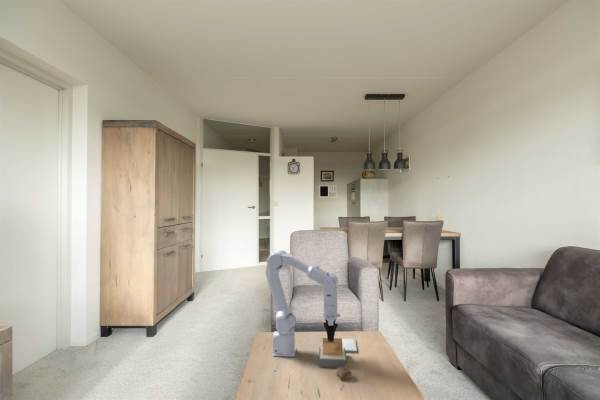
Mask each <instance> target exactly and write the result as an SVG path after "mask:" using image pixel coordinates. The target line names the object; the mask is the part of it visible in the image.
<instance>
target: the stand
mask: <svg viewBox="0 0 600 400" xmlns="http://www.w3.org/2000/svg"><path fill="white" fill-rule="evenodd" d="M318 348H319V351H318V352H319V353H318V368H330V369H331V368H332V369H337V368H338V367H344V366H347V367H348V360H347V359H348V358H347V353H346V351H345V348H344V347H342V349H343V355H323V346H320V347H318Z"/></svg>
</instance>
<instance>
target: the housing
mask: <svg viewBox="0 0 600 400" xmlns="http://www.w3.org/2000/svg"><path fill="white" fill-rule="evenodd" d="M342 339H343V338H339V337H338V338H335V337H334V340H333V341H328V337H322V347H323V355H343V349H342Z"/></svg>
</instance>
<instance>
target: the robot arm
mask: <svg viewBox="0 0 600 400" xmlns="http://www.w3.org/2000/svg"><path fill="white" fill-rule="evenodd" d="M265 261H266V268H265V276H266V280H267V283H268V287H269V290H270V293H271V296H272V299H273V300H272V301H273V304H274V307H275V311H276V314H275V321H276V323H275V329H276V331H273V337H272V357H291V358H293V357H295V356H296V353H297V347H296V346H295V345H296V343H295V341H296V340H295V339H296V338H295V336H296V335H295V326H296V325H297V317H296V316H295V315H294V314H293V311H292V309H290V308H289V306H288V302H287V299H286V296H285V292H284V289H283V285H282V282H281V279H280V275H279V273H280V271H281V269H282V268H283V267H287V266H289V267H290V266H291V267H293V268H295V269H297V270H299V271H301V272H303V273H305V274H306V276H307V278H308V279H310V280H312V281H313V282H316V283H317V284H319V285H321V286H322V288H323V318H324V320H325V322H323V327H324V329H325V331H326V336H327V337H326V338H328V341H333V340H334V338H335V334H336V330H337V329H338V326H339V324H338V323H336V320H337V318H339V317H341V313H338V287H337V285H339V284H338V283H339V279H338V276H336V274H334V273H330V272H329V271H326V270H323V269H321V268H320V266H319V265H312V266H311V265H308V264H307V263H306V262H304V261H302V260H300V259H299V258H297V257H295V256H294V255H293V254H291V253H289V252H287V251H285V250H279V251H277V252H273V253H271V254H270V255H268V257H267V259H266V260H265Z"/></svg>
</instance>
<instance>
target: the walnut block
mask: <svg viewBox="0 0 600 400" xmlns="http://www.w3.org/2000/svg"><path fill="white" fill-rule="evenodd" d="M336 375H337V377H338V379H339V380H340V381H341V382H343V381H351V380H352V370H351V369H350V368H349V366H348V365H347V366H344V367H338V368H336Z"/></svg>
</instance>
